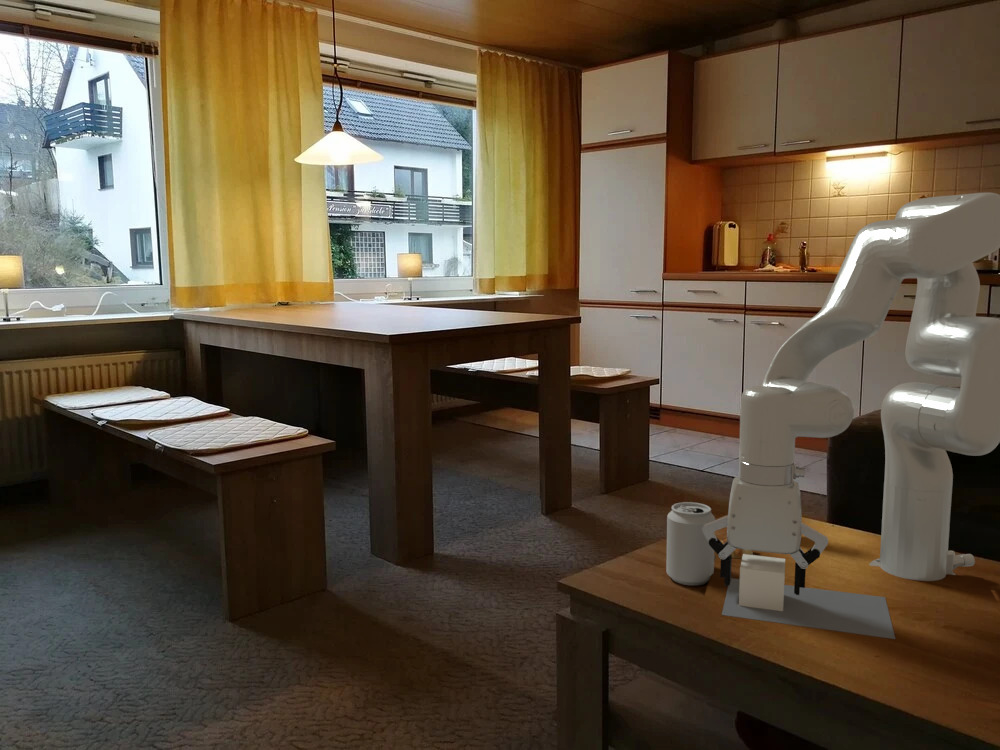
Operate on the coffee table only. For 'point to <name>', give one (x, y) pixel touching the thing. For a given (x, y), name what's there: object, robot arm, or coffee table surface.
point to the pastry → (735, 552)
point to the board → (819, 610)
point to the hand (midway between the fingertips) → (761, 586)
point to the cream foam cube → (762, 582)
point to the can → (689, 544)
